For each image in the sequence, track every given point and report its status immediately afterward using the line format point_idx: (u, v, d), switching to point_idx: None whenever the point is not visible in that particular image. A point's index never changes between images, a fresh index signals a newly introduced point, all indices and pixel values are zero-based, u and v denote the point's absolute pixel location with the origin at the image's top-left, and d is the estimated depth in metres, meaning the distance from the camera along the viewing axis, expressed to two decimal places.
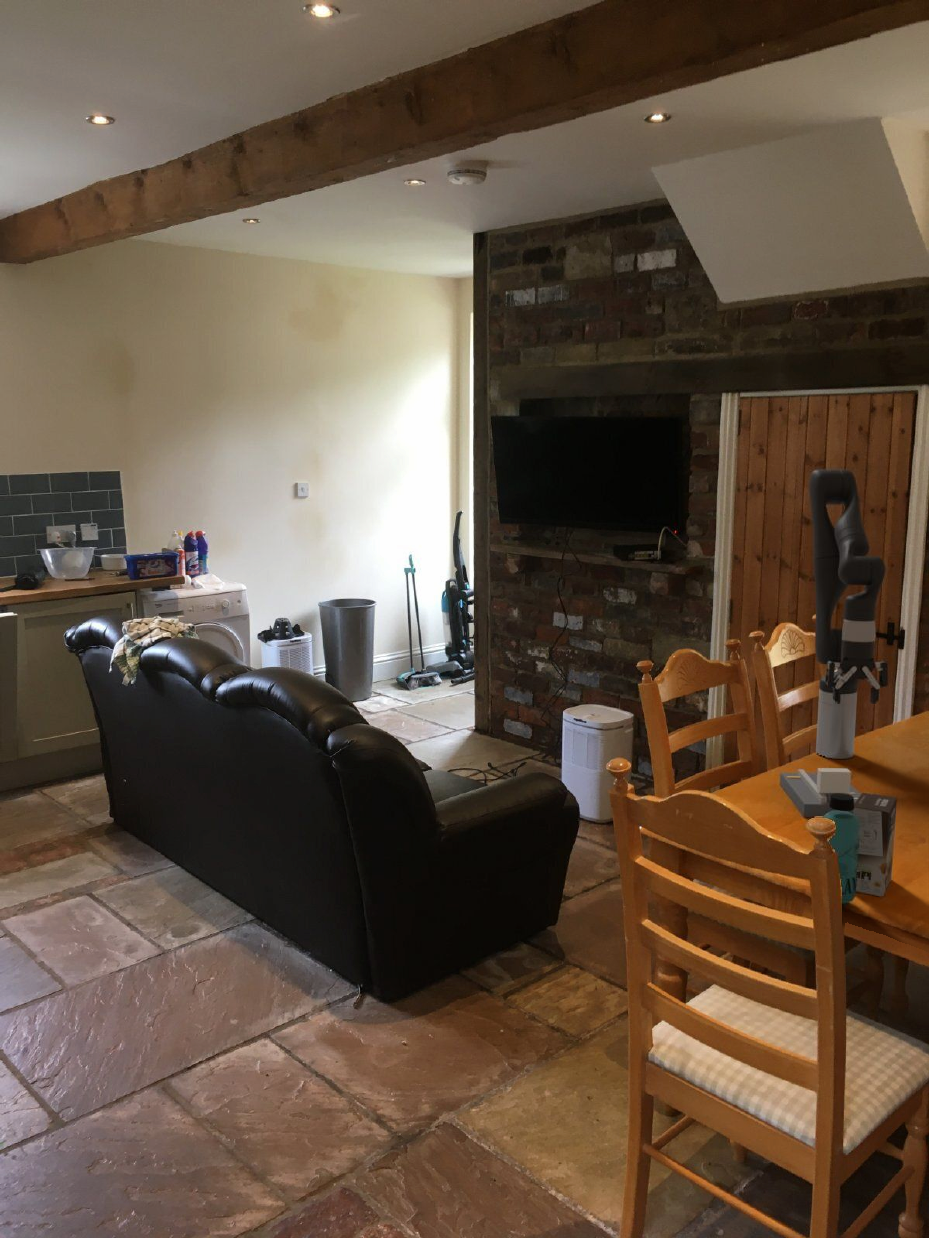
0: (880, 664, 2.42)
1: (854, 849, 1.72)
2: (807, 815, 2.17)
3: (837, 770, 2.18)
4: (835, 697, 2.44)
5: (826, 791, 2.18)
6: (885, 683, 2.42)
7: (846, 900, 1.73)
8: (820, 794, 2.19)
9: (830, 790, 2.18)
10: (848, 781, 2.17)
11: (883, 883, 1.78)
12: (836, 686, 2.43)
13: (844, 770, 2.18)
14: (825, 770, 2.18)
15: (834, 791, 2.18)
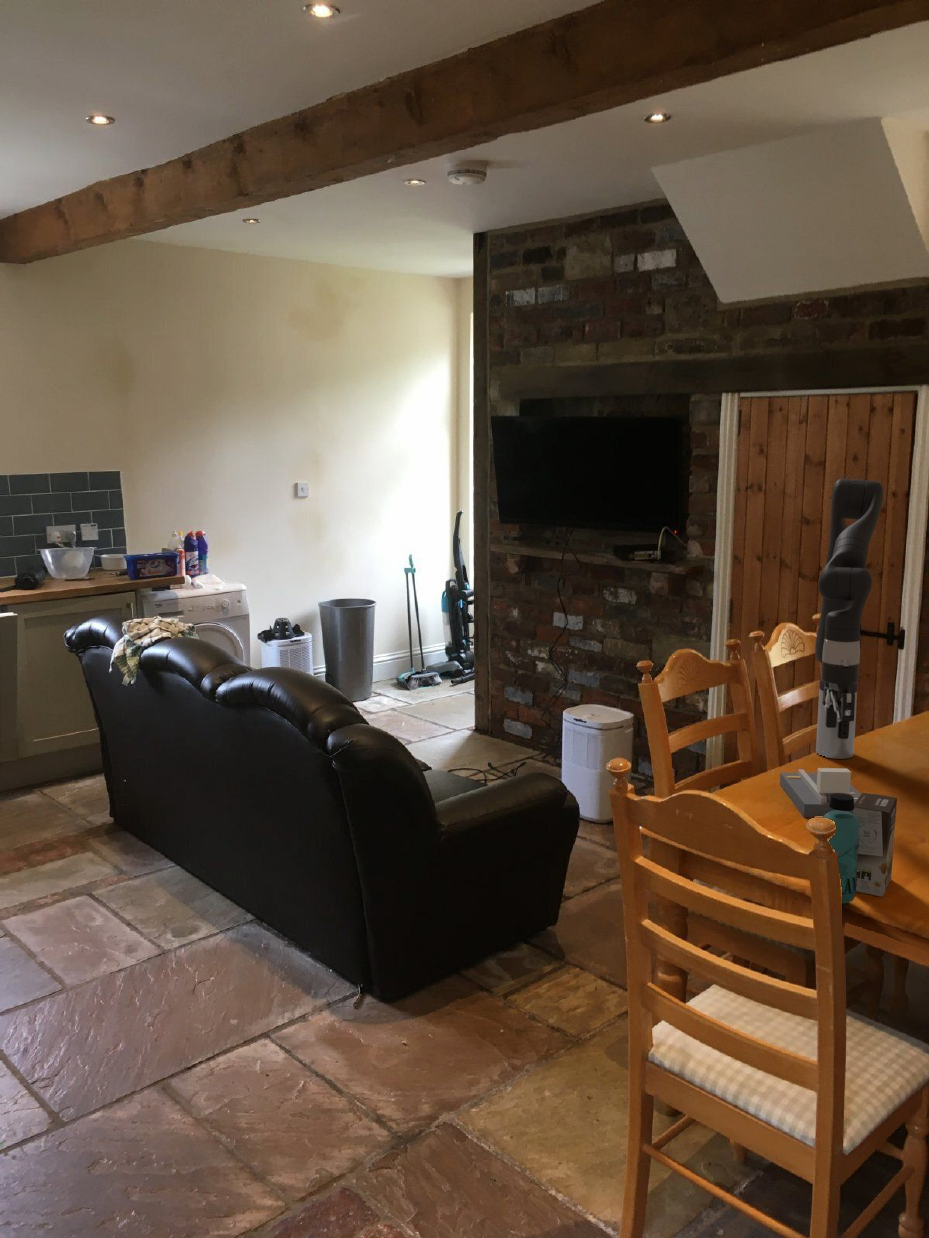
0: None
1: (854, 849, 1.72)
2: (807, 815, 2.17)
3: (837, 770, 2.18)
4: None
5: (826, 791, 2.18)
6: None
7: (846, 900, 1.73)
8: (820, 794, 2.19)
9: (830, 790, 2.18)
10: (848, 781, 2.17)
11: (883, 883, 1.78)
12: None
13: (844, 770, 2.18)
14: (825, 770, 2.18)
15: (834, 791, 2.18)
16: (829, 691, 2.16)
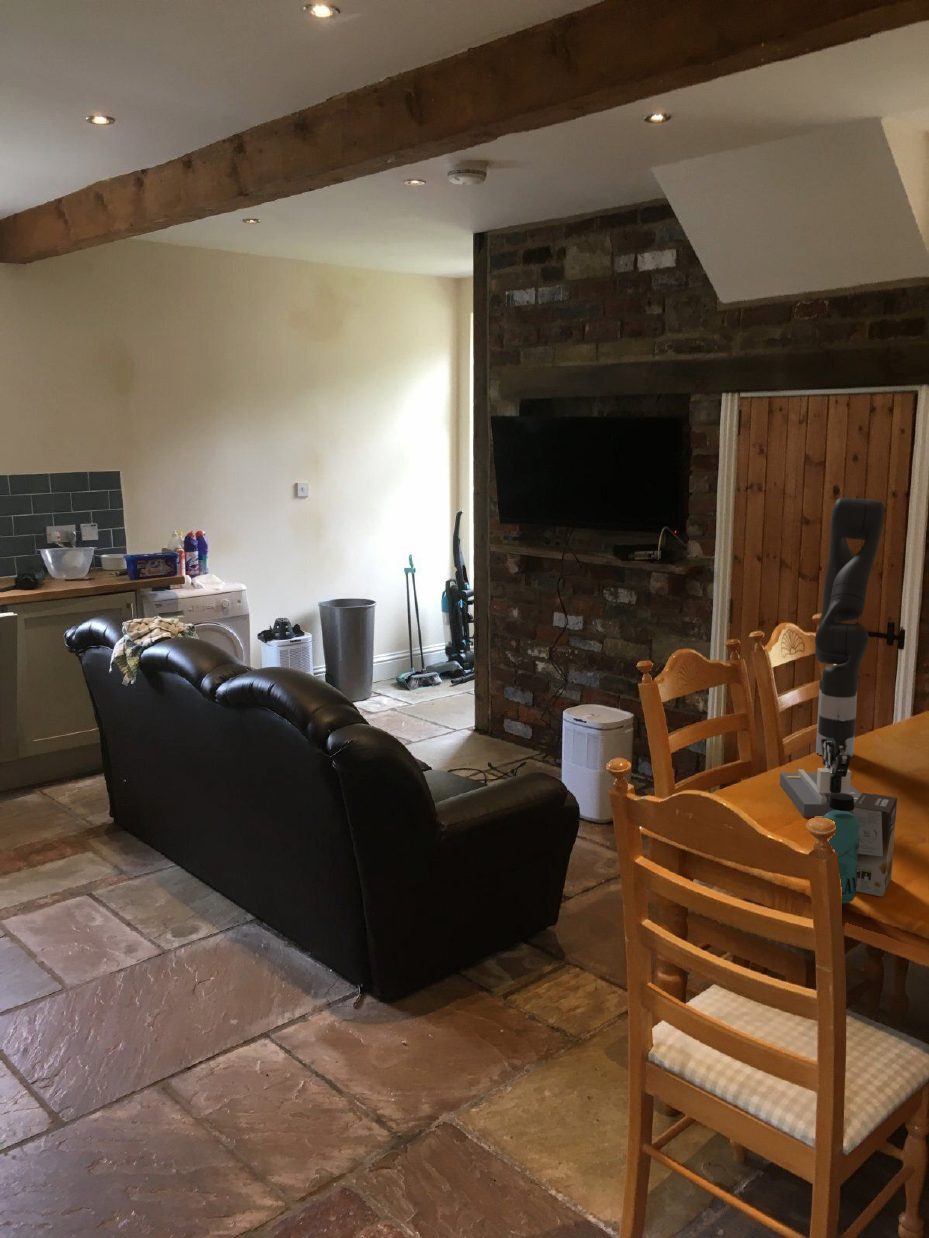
0: None
1: (854, 849, 1.72)
2: (807, 815, 2.17)
3: None
4: None
5: (826, 791, 2.18)
6: None
7: (846, 900, 1.73)
8: (820, 794, 2.19)
9: None
10: (848, 781, 2.17)
11: (883, 883, 1.78)
12: None
13: None
14: (825, 770, 2.18)
15: None
16: (826, 743, 2.18)
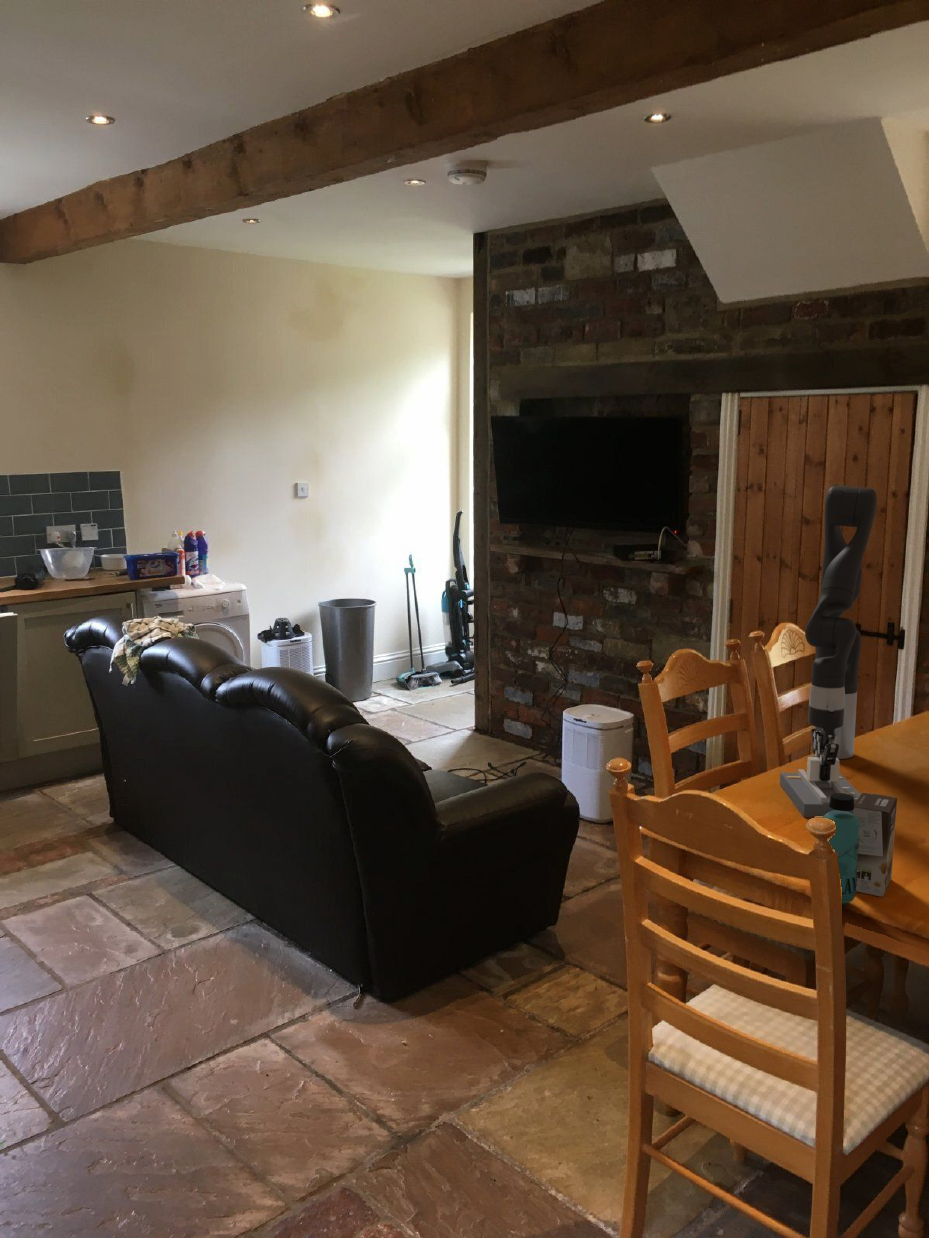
0: None
1: (854, 849, 1.72)
2: (807, 815, 2.17)
3: None
4: None
5: (816, 779, 2.26)
6: None
7: (846, 900, 1.73)
8: (820, 794, 2.19)
9: None
10: (837, 769, 2.25)
11: (883, 883, 1.78)
12: None
13: None
14: (815, 759, 2.26)
15: None
16: (815, 732, 2.26)
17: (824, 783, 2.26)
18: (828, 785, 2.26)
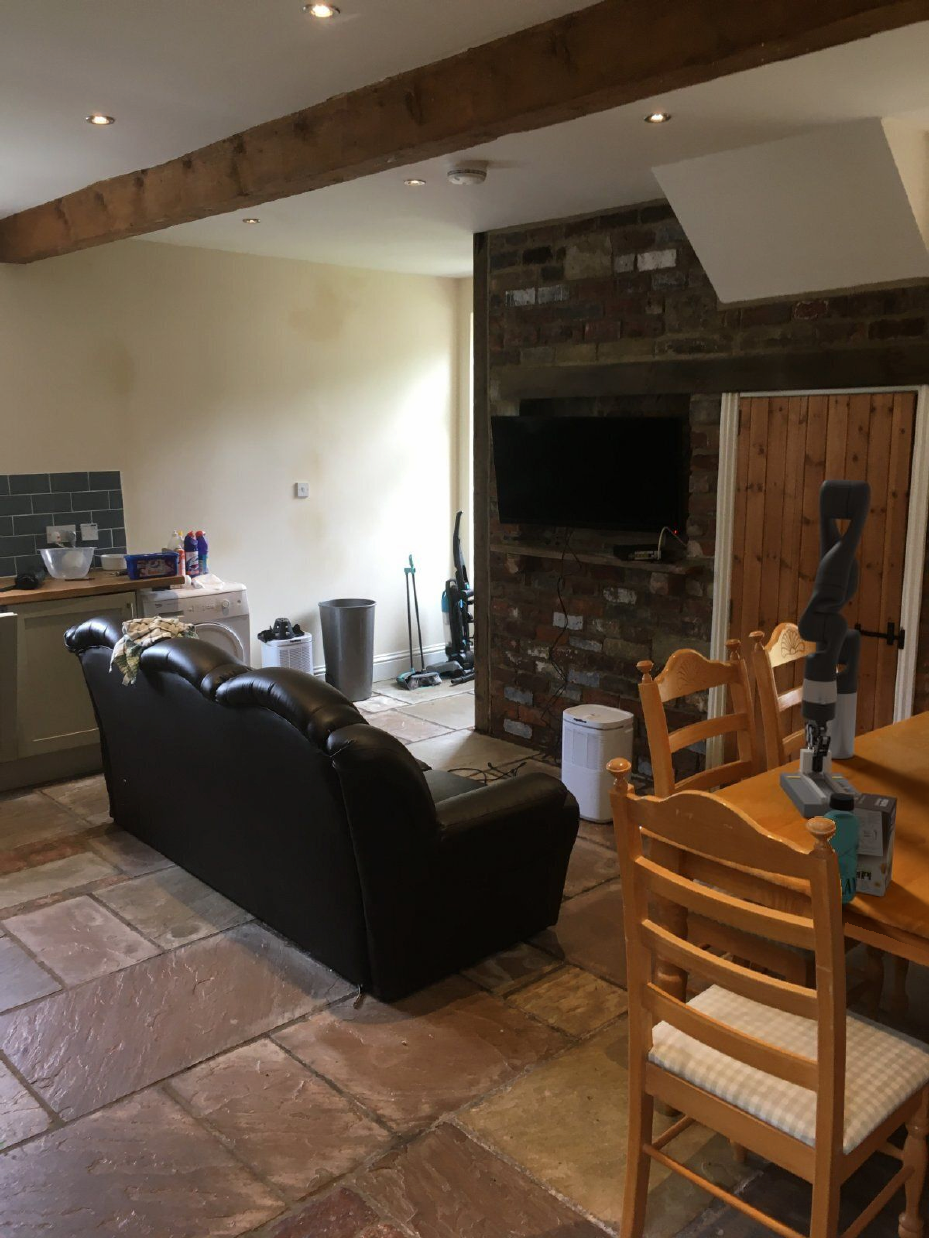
0: None
1: (854, 849, 1.72)
2: (807, 815, 2.17)
3: None
4: None
5: (808, 770, 2.32)
6: None
7: (846, 900, 1.73)
8: (820, 794, 2.19)
9: None
10: (829, 761, 2.31)
11: (883, 883, 1.78)
12: None
13: None
14: (807, 751, 2.32)
15: None
16: (808, 725, 2.32)
17: (816, 774, 2.32)
18: (820, 776, 2.31)
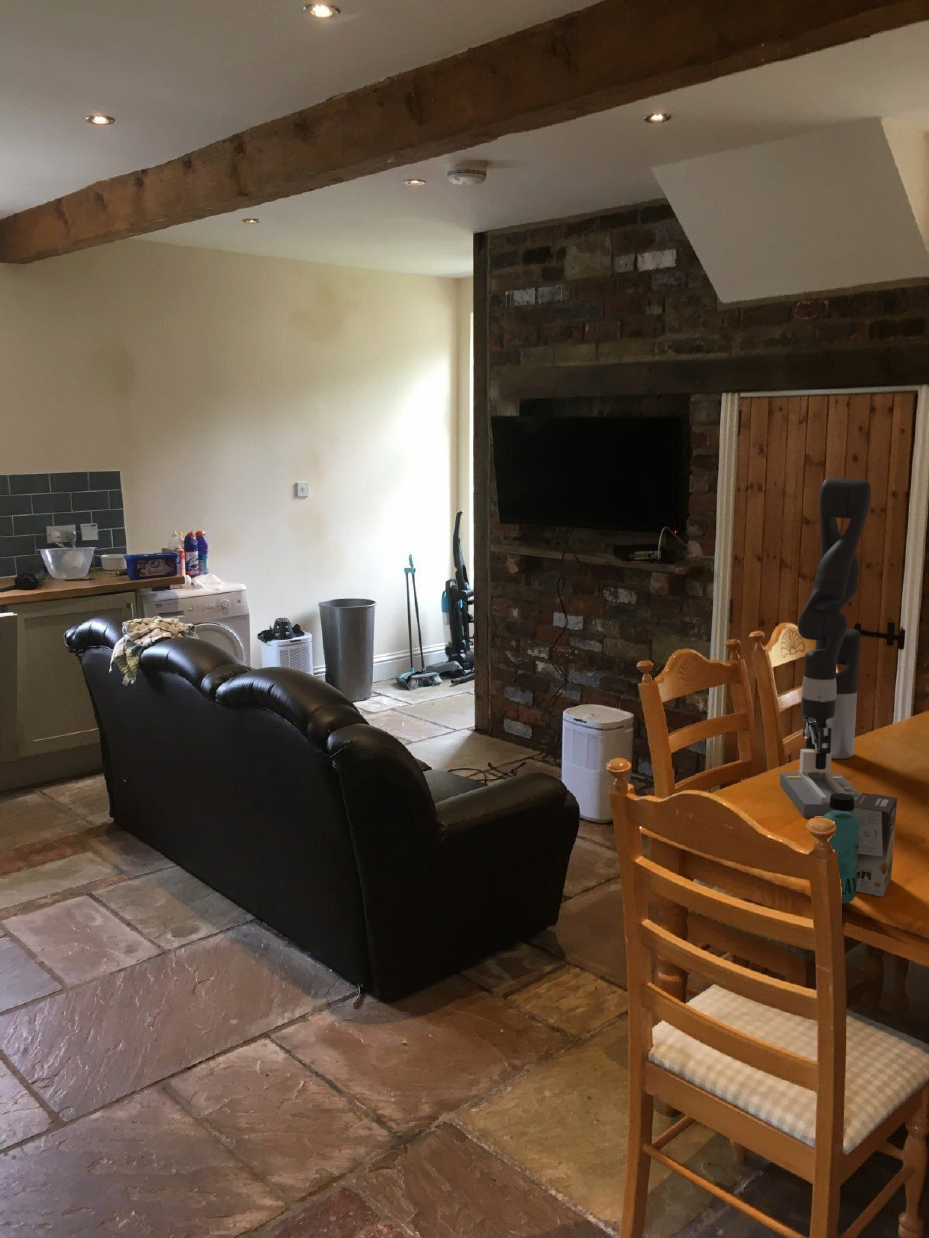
0: None
1: (854, 849, 1.72)
2: (807, 815, 2.17)
3: None
4: None
5: (808, 770, 2.32)
6: None
7: (846, 900, 1.73)
8: (820, 794, 2.19)
9: (812, 769, 2.32)
10: (829, 761, 2.31)
11: (883, 883, 1.78)
12: None
13: None
14: (807, 751, 2.32)
15: (816, 770, 2.32)
16: (808, 724, 2.32)
17: (816, 774, 2.32)
18: (820, 776, 2.31)
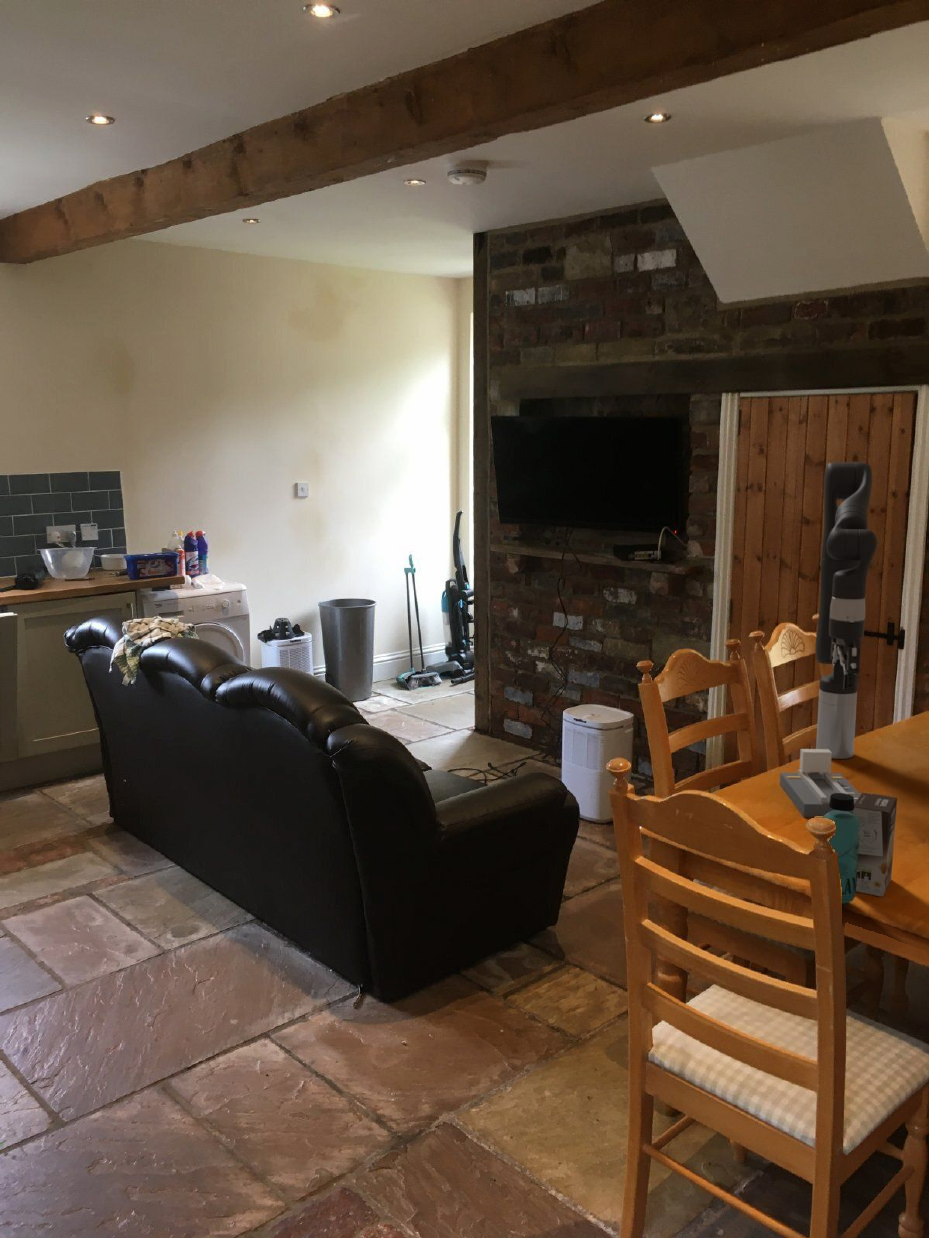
0: None
1: (854, 849, 1.72)
2: (807, 815, 2.17)
3: (819, 751, 2.32)
4: None
5: (808, 770, 2.32)
6: None
7: (846, 900, 1.73)
8: (820, 794, 2.19)
9: (812, 769, 2.32)
10: (829, 761, 2.31)
11: (883, 883, 1.78)
12: None
13: (825, 751, 2.32)
14: (807, 751, 2.32)
15: (816, 770, 2.32)
16: (836, 646, 2.29)
17: (816, 774, 2.32)
18: (820, 776, 2.31)
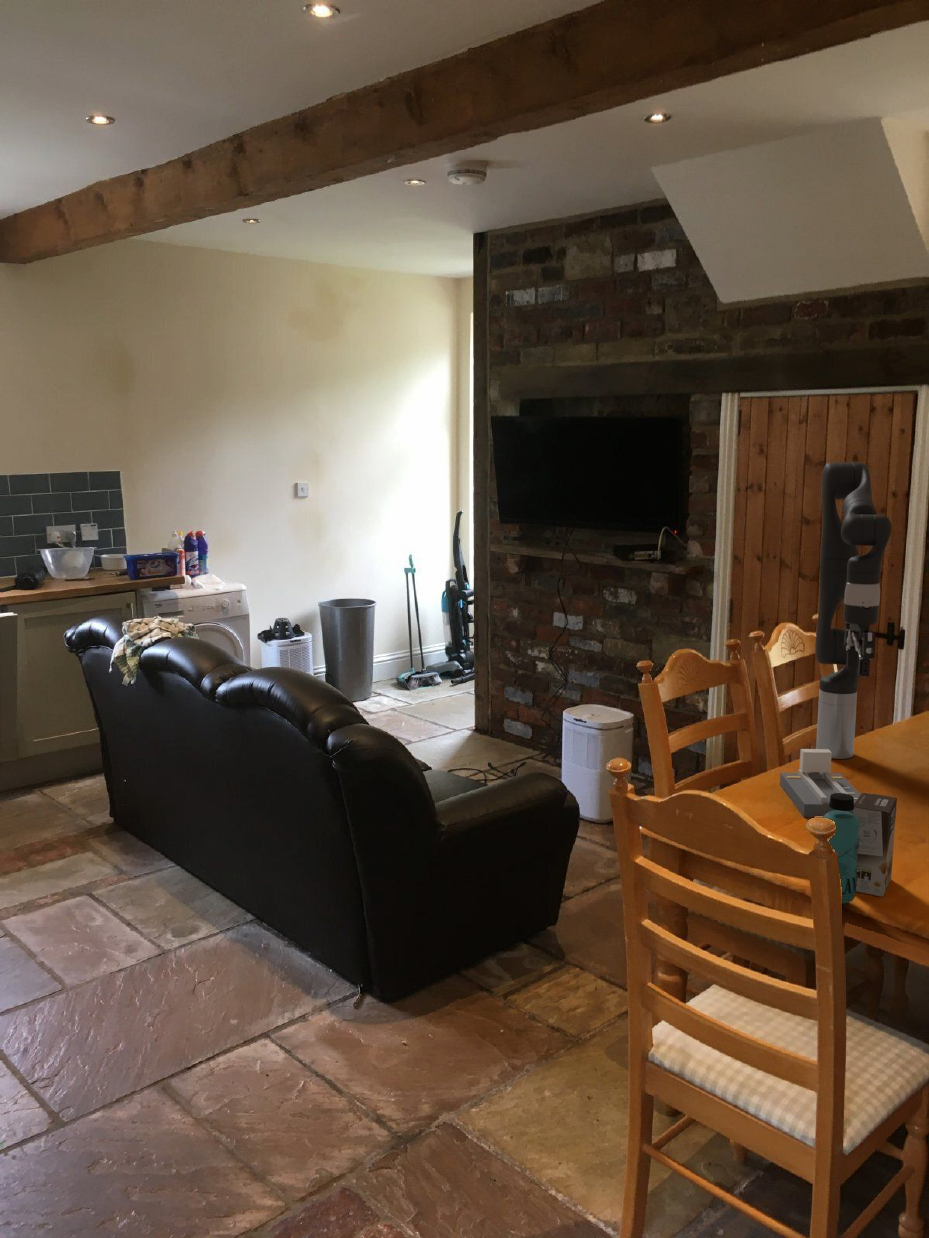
0: None
1: (854, 849, 1.72)
2: (807, 815, 2.17)
3: (819, 751, 2.32)
4: None
5: (808, 770, 2.32)
6: None
7: (846, 900, 1.73)
8: (820, 794, 2.19)
9: (812, 769, 2.32)
10: (829, 761, 2.31)
11: (883, 883, 1.78)
12: None
13: (825, 751, 2.32)
14: (807, 751, 2.32)
15: (816, 770, 2.32)
16: (850, 632, 2.29)
17: (816, 774, 2.32)
18: (820, 776, 2.31)
